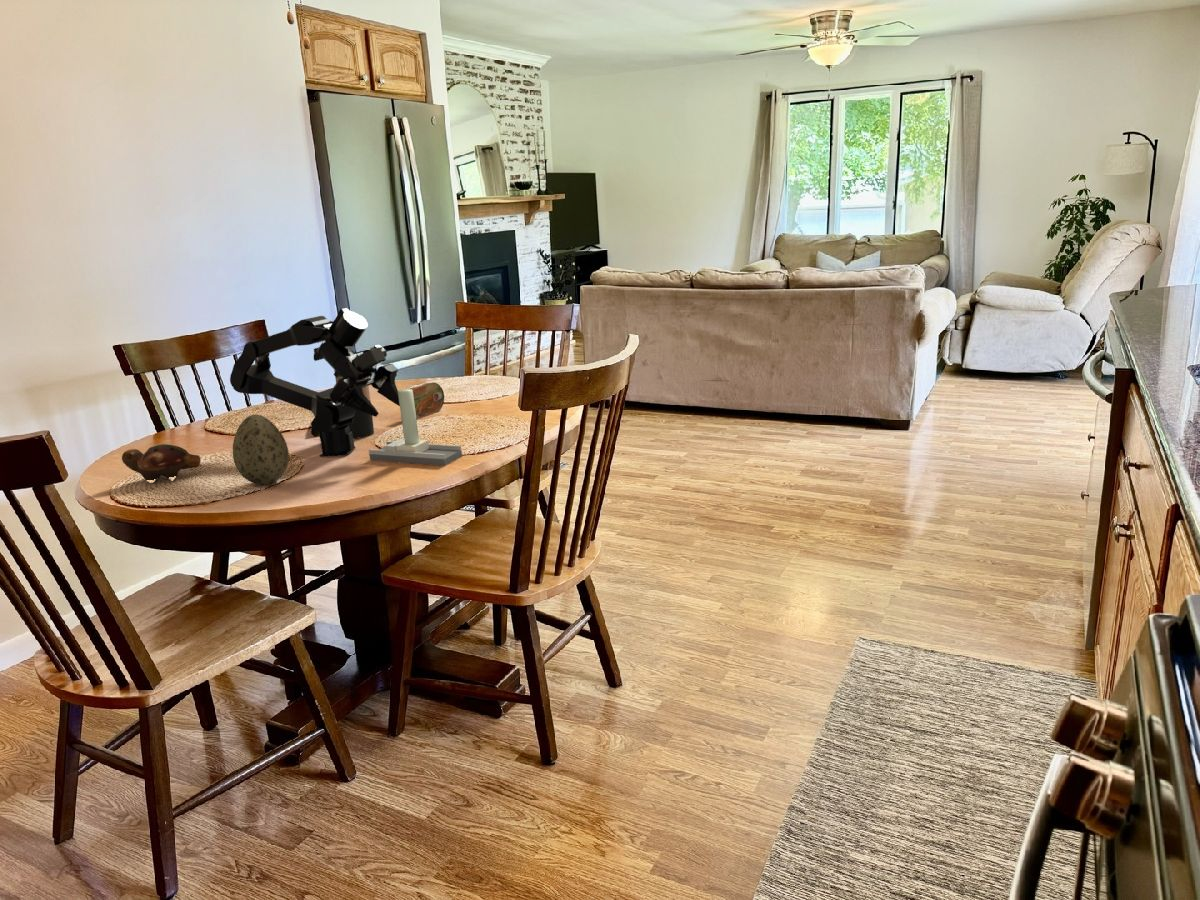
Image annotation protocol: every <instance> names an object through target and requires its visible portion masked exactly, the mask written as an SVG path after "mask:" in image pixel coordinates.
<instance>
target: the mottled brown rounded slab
mask: <svg viewBox="0 0 1200 900" xmlns="http://www.w3.org/2000/svg"><path fill="white" fill-rule="evenodd" d="M408 389H412V390H413V397H414V405H415V412H416V420H419V419H423V418H424V417H428V416H429V415H432V414H436V413H438V412H440V410H442V408H443V406H444V402H445V393H444V390H443V387H442V386H441V385H440V384H439V383H437V382H433V381H432V382H425V383H422V384H419V385H416V386H413V387H410V388H408Z"/></svg>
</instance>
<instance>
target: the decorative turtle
mask: <svg viewBox="0 0 1200 900" xmlns="http://www.w3.org/2000/svg"><path fill="white" fill-rule="evenodd" d="M121 461H122V463H123V464H124V465H125V466H126V467H127V468H128V469H130V470H131V471H133V472H136V473H139V474H140V475H141V476H142V478H143V479H144V480H145V481H146V480H154V479H157V478H158V479H159V478H160V477H163V478H165V477H166V478H165V479H167V478H169V477H174V476H177V477H178V475H179V472H180V471H181V470H188V469H195V468H199V467H200V466H201V456H200V455H198V454H193V453H192V454H191V453H189V452H188V450H186V449H184V447H182V446H178V445H173V444H156V445H154V446H151V447H148V449H147V450H146V451H145V452H144V453H143V452H141V451H140V450H139V449H137V448H131V449H127V450H125V451H124V452H123V454H122V455H121ZM158 479H157V480H158Z"/></svg>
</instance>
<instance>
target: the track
mask: <svg viewBox="0 0 1200 900" xmlns="http://www.w3.org/2000/svg"><path fill="white" fill-rule="evenodd" d="M403 442H405V441H404V438H399V439H397V440H395V441H393V440H392V441H389V440H387V441H386V445H384V447H381V448H379V449H368V454H369V455H368V456H369V460H370V461H372V462H373V461H377V462H389V463H400V464H401V463H402V464H415V465H417V464H418V465H428V466H429V465H430V466H443V467H445V466H448V465H449V464H451V463H452V462H455V461H456V460H459V459H460V458H462V457H463V450H462V445H459V444H458V445H456V444H439V443H438V444H437V443H428V444H429V449H428V450H426V451H424V452H422V453H421V452H405V451H397V449H396V445H398V444H401V443H403Z"/></svg>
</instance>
